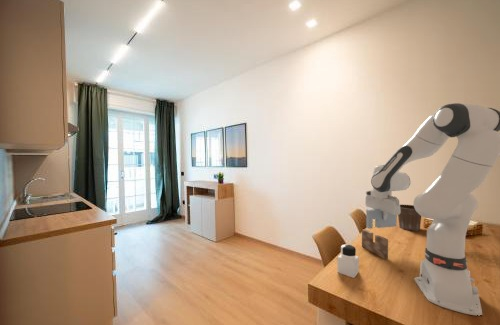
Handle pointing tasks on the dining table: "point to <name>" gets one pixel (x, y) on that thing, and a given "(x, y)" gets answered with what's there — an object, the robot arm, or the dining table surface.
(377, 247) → the walnut board
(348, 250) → the medicine bottle
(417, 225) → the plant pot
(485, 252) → the dining table surface
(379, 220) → the light blue notched panel
